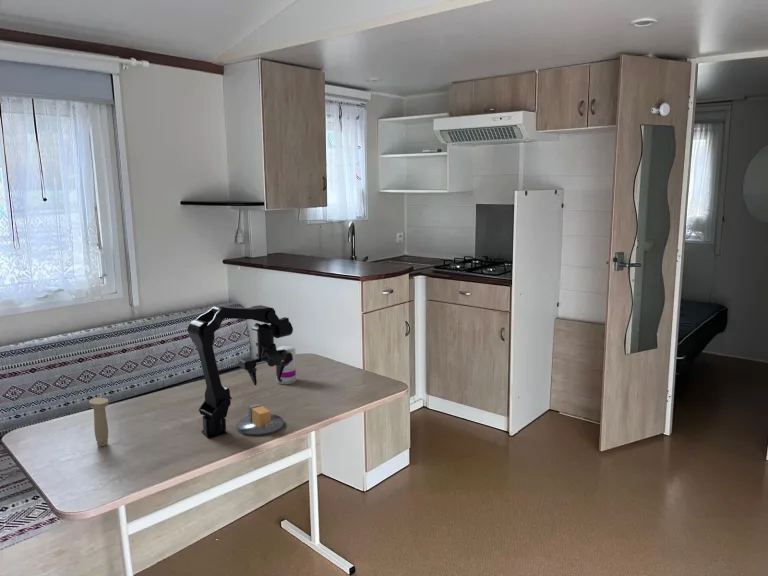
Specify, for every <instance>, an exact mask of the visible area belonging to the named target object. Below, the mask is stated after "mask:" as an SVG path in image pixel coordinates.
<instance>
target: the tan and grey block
mask: <svg viewBox="0 0 768 576" xmlns="http://www.w3.org/2000/svg"><path fill="white" fill-rule="evenodd" d="M270 414H271V411H270V410H269V409H268V408H266V407H264V406H263V405H261V404H260V403H254V404H252V405H251V404H250V405H248V406H247V416H248V418H249V420H250V421H252V422H253V423H254V424H255V425H257V426H258V427H259V428H262V427H264V424H266V423H269V422H271V419H270Z"/></svg>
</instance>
